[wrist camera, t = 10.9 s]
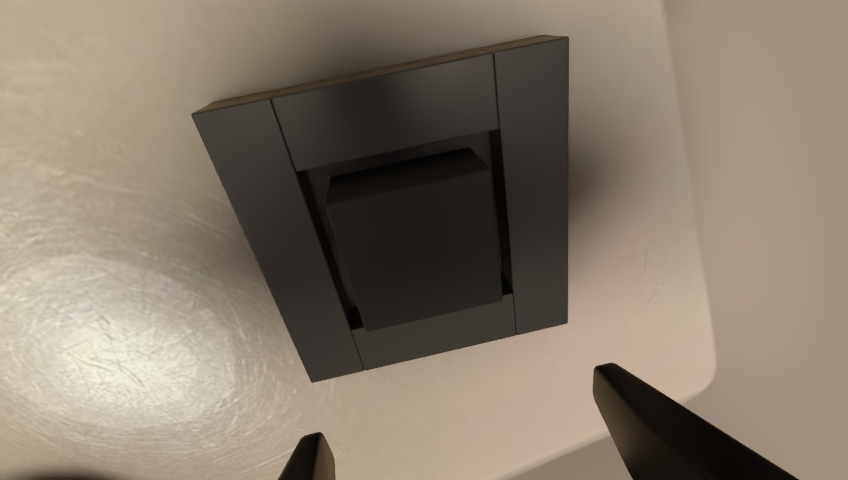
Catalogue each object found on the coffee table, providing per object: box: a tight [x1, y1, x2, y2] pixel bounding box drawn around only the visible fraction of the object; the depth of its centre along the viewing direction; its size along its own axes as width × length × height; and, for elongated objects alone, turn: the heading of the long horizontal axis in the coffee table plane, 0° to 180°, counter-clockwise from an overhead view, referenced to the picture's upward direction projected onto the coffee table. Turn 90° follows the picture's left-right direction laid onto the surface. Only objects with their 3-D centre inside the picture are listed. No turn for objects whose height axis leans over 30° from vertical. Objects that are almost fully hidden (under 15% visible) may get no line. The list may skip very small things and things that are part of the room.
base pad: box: [192, 35, 569, 383], centre depth 17 cm, size 12×12×2 cm
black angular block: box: [325, 148, 503, 332], centre depth 16 cm, size 6×6×3 cm
